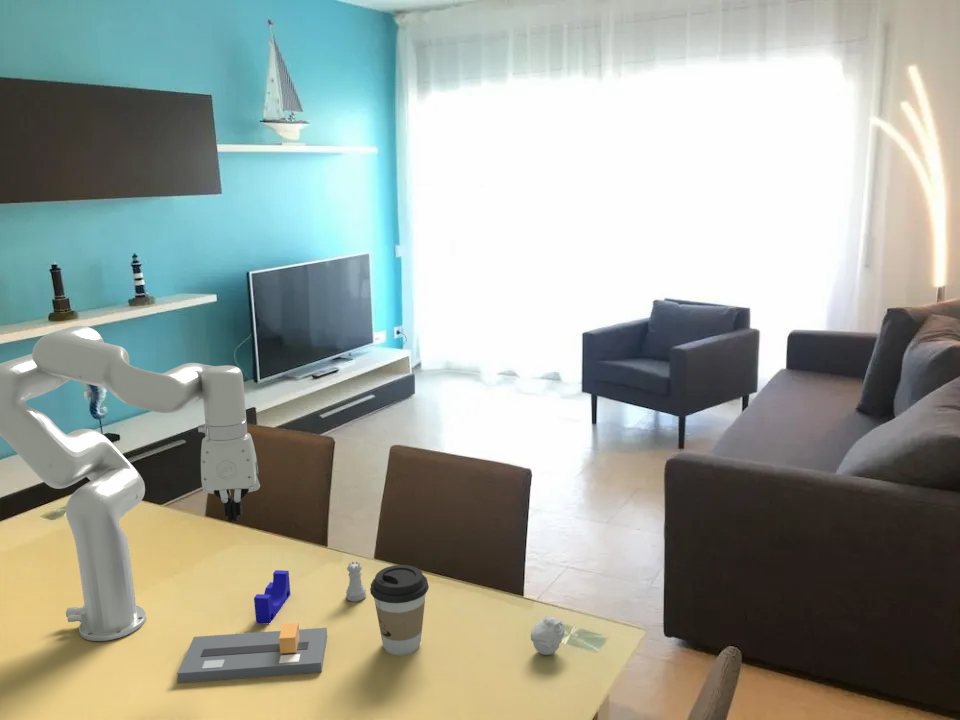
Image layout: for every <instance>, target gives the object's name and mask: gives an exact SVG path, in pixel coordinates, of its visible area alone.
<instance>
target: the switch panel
mask: <svg viewBox="0 0 960 720" xmlns="http://www.w3.org/2000/svg"><path fill="white" fill-rule="evenodd" d="M327 628H328V627H317V628H316V627H315V628H303V629H302V628H299V642H298V647H297V651H296V653H282V654H280V645H279V637H280V633H281V630H273V631H259V632H247V633H246V632H244V633H232V634H231V633H229V634H216V635H215V634H214V635H200V636H193V638H192V641H191V643H190V645H189V646H188V649H187V652H186V654H185V655H184V658H183V660H182V662H181V664H180V666H179V669H178V671H177V675H176V676H177V683H178V684H181V683H182V684H184V683H195V682H209V681H210V682H211V681H222V680H225V681H226V680H236V679H248V678H251V679H252V678H264V677H276V676H278V677H279V676H289V675H292V676H293V675H302V674H303V675H304V674H306V675H307V674H318V673H322V672H323V666H324V659H325V653H326V647H327V641H328V629H327Z"/></svg>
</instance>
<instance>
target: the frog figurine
mask: <svg viewBox="0 0 960 720" xmlns="http://www.w3.org/2000/svg"><path fill="white" fill-rule="evenodd" d="M565 630H566V629H565V623H564V622H563V620H560V619H559V618H555V617H553V616H551V615H546V616H545V617H544V619H542V620H541V621H539V622H538V623H537V624H535V626H534V628H533V629H532V630H531V633H530V641H531V642H532V643H533V647H534V649H535V650H536V651H537V652H538V653H539V654H541V655H544V656H550V655H553V654H554V653H555V652H557V650H558V649H559V647H560V644H562V641H563V638H564V637H565V633H566V631H565Z"/></svg>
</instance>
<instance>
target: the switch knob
mask: <svg viewBox="0 0 960 720" xmlns="http://www.w3.org/2000/svg"><path fill="white" fill-rule="evenodd" d="M299 629H300V625H299V622H293V623H283V624H282V625H281V630H280V631H281V633H280V637H279V645H280V654H282V653H296V651H297V647H298V642H299Z"/></svg>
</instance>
